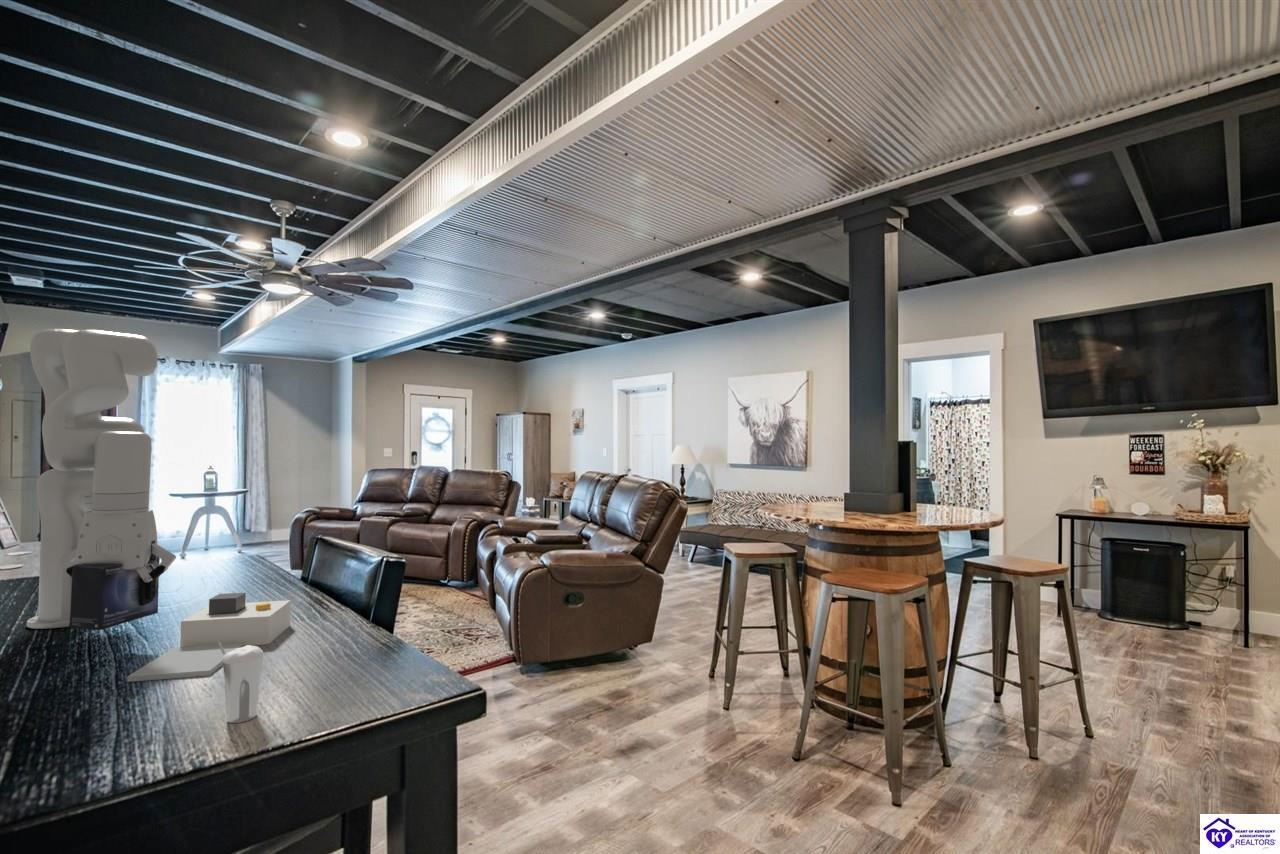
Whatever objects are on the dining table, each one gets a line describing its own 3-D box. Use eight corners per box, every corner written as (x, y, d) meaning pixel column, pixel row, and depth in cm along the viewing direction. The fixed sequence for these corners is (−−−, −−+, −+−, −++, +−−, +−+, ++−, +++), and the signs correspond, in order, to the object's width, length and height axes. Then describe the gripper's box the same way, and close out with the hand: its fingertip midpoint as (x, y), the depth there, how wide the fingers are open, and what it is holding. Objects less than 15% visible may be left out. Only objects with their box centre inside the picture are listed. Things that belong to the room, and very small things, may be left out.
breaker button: (218, 625, 116) (219, 593, 117) (244, 624, 117) (245, 592, 118) (208, 632, 112) (209, 599, 112) (235, 630, 113) (236, 598, 113)
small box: (100, 631, 100) (102, 567, 100) (66, 629, 101) (68, 565, 101) (160, 612, 110) (162, 554, 110) (129, 611, 111) (130, 553, 111)
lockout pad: (174, 652, 107) (174, 647, 107) (245, 647, 109) (245, 642, 109) (127, 681, 93) (127, 676, 93) (209, 675, 95) (209, 670, 96)
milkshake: (227, 711, 82) (229, 636, 83) (268, 710, 83) (270, 635, 83) (206, 726, 78) (208, 647, 78) (250, 725, 78) (252, 646, 79)
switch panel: (210, 630, 119) (211, 600, 120) (290, 625, 123) (290, 596, 123) (180, 650, 108) (181, 616, 108) (268, 644, 111) (269, 611, 111)
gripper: (45, 505, 100) (40, 612, 100) (167, 505, 104) (163, 609, 104) (75, 499, 107) (71, 600, 107) (189, 500, 111) (185, 597, 111)
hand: (116, 603), depth 105 cm, fingers closed on small box, 8 cm apart
